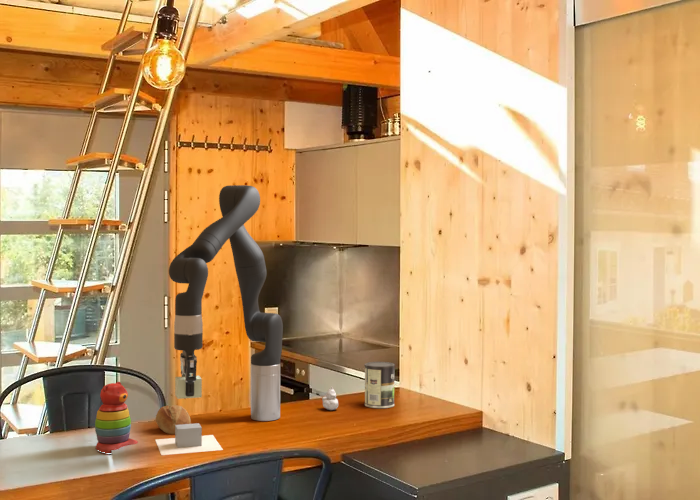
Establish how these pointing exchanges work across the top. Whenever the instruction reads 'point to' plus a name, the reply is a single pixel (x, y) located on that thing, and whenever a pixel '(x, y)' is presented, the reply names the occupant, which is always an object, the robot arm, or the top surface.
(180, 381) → the sage brick
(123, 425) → the stacking bear
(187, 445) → the slate brick
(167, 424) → the bread roll
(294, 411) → the top surface
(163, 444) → the baseplate
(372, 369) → the coffee can
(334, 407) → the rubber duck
